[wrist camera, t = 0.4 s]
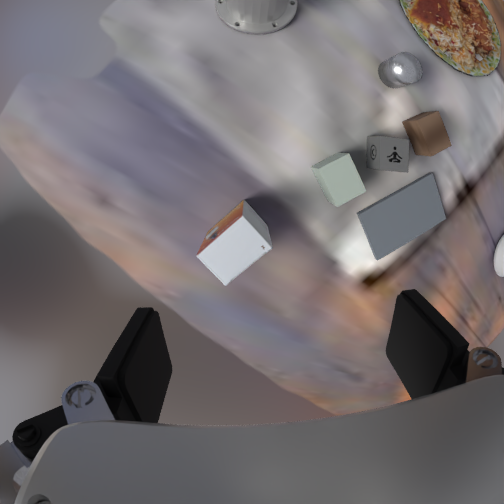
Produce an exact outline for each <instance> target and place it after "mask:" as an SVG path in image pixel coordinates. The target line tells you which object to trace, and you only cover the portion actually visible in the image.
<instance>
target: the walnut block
mask: <svg viewBox="0 0 504 504" xmlns="http://www.w3.org/2000/svg"><path fill="white" fill-rule="evenodd" d="M402 123H403V125H404V128H405V130H406V132H407V135H408V137H409V139H410V142H411V144H412V147H413V149H414V152H415V154H416V155H424V156H433V155H435V154H437V153H439V152H440V151H442V150H444V149H446V148H448V147H450V146H452V145H451V142H450V140H449V137H448V134H447V131H446V129H445V126H444V124H443V121H442V119H441V116H440V114H439V111H432V112H424V113H421V114H418V115H416V116H414V117H412V118H410V119H407V120H405V121H403V122H402Z"/></svg>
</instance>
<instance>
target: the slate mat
mask: <svg viewBox="0 0 504 504" xmlns="http://www.w3.org/2000/svg"><path fill="white" fill-rule="evenodd" d="M357 215H358V217H359V220H360V222H361V224H362V227H363V229H364V232H365V234H366V237H367V239H368V241H369V244H370V247H371V249H372V252H373V254H374V257H375V259H376V260H379V259H381V258H383V257H384V256H386V255H388V254H389V253H391V252H393V251H394V250H396V249H398V248H400V247H401V246H403V245H405V244H406V243H408V242H409V241H411V240H413V239H414V238H416V237H418V236H419V235H421V234H422V233H424V232H426V231H427V230H429V229H430V228H432V227H434V226H435V225H437V224H438V223H440V222H441V221H443V220H445V219H446V217H445V213H444V209H443V206H442V202H441V199H440V195H439V192H438V189H437V185H436V182H435V179H434V176H433V173H428V174H426V175H424V176H423V177H421V178H419V179H417V180H415V181H414V182H412V183H410V184H408V185H406V186H405V187H403V188H401V189H399V190H398V191H396V192H394V193H392V194H390V195H389V196H387V197H385V198H383V199H381V200H379V201H378V202H376V203H374V204H372V205H370V206H369V207H367V208H365V209H363V210H361V211H359V212H358V213H357Z"/></svg>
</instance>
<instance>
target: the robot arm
mask: <svg viewBox="0 0 504 504" xmlns="http://www.w3.org/2000/svg"><path fill="white" fill-rule="evenodd" d="M220 3H221V4H220ZM291 4H292V5H291ZM216 10H217V13H218V15H219V17H220V18H221V20H222V21H223V22H224V23H225V24H226V25H228V26H229V27H231V28H233V29H235V30H237V31H240V32H243V33H248V34H267V33H272V32H275V31H278V30H280V29H282V28H283V27H285V26H286V25H287V24H289V23H290V22H291V20H292V19H293V18H294V16H295V13H296V10H297V0H216ZM237 25H239V26H237ZM273 26H276V27H273ZM468 346H469V343H468V342H467V341H466V340H465V339H464V337H463V336H462V335H461V334H460V333H459V332H458V331H457V330H456V329H455V328H454V327H453V326H452V325H451V324H450V323H449V322H448V321H447V320H446V319H445V318H444V317H443V316H442V315H441V314H440V313H439V312H438V311H437V310H436V309H435V308H434V307H433V306H432V305H431V304H430V303H429V302H428V301H427V300H426V299H425V298H424V297H423V296H422V295H421V294H420V293H419V292H418V291H417V290H415V289H412V290H405V291H402V292H401V293H400V295H398V296H397V299H396V304H395V310H394V315H393V320H392V324H391V329H390V334H389V338H388V342H387V346H386V355H387V357H388V359H389V360H390V362H391V364H392V365H393V367H394V369H395V371H396V372H397V374H398V376H399V377H400V379H401V381H402V383H403V384H404V386H405V388H406V390H407V391H408V393H409V395H410V397H411V399H412V400H408V401H405V402H401V403H397V404H393V405H389V406H385V407H380V408H376V409H371V410H367V411H362V412H357V413H351V414H346V415H340V416H334V417H328V418H321V419H313V420H306V421H297V422H286V423H274V424H258V425H233V426H232V425H231V426H208V425H177V424H160V423H158V420H159V416H160V413H161V409H162V405H163V402H164V398H165V395H166V391H167V388H168V384H169V381H170V378H171V374H172V364H171V360H170V357H169V353H168V349H167V345H166V341H165V338H164V334H163V330H162V326H161V322H160V317H159V313H158V312H157V311H154V310H153V308H137V310H136V311H135V313H134V314H133V316H132V317H131V319H130V321H129V322H128V324H127V326H126V327H125V329H124V331H123V332H122V334H121V335H120V337H119V339H118V340H117V342H116V343H115V345H114V347H113V348H112V350H111V352H110V354H109V355H108V357H107V359H106V361H105V362H104V364H103V366H102V367H101V369H100V371H99V373H98V374H97V376H96V378H95V380H94V382H91V381H79V382H75V383H73V384H71V385H70V386H69V387H67V388H66V389H65V391H64V392H63V394H62V397H61V401H62V405H61V406H59V407H57V408H54V409H52V410H50V411H47V412H45V413H42V414H40V415H38V416H35V417H33V418H30V419H28V420H25V421H24V422H22V423H20V424H19V425H18V426H17V427H16V428H15V430H14V433H13V441H12V442H11V443H10V442H9V441H8V440H7V441H5V442H4V443H3V444H1V445H0V504H504V368H502V364H501V363H502V362H501V358H500V357H499V355H498V354H497V353H496V352H495V351H493V350H492V349H489V348H486V347H476V348H474V349H472V350H471V351H470V352H469V351H468V350H467V349H468Z"/></svg>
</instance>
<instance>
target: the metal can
mask: <svg viewBox="0 0 504 504" xmlns="http://www.w3.org/2000/svg"><path fill="white" fill-rule="evenodd" d="M378 74H379V77H380V79H381V80H382V82H383V83H384V84H385V85H387V86H388V87H390V88H399V87H402V86H405V85H408V84H411V83H414V82H417V81H419V80H420V79H421V77H422V67H421V64H420V62H419V61H418V60H417V58H416V57H415V56H413V55H412V54H410V53H407V52H401V53H398V54H397V55H395V56H393V57H391V58H389V59H387V60H386V61H384V62H382V63H381V64H380V65H379V68H378Z"/></svg>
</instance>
